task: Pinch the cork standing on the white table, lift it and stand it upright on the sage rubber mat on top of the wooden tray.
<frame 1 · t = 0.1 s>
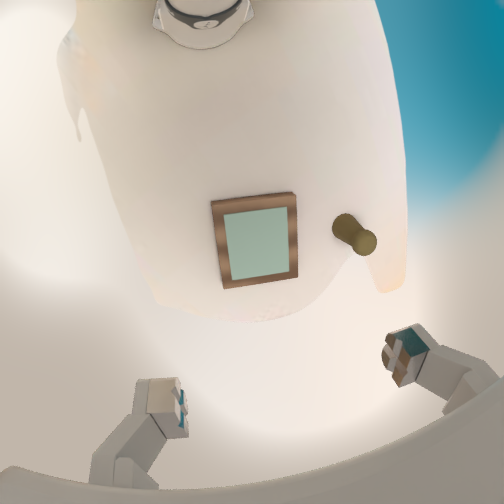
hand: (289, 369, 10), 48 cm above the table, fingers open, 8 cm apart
wooden tray: (255, 238, 60), on the table
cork: (343, 226, 63), on the table
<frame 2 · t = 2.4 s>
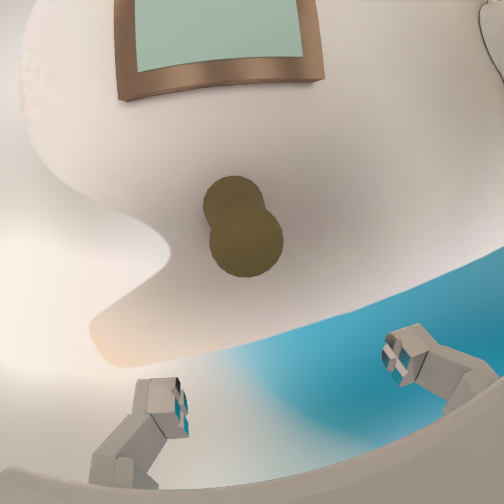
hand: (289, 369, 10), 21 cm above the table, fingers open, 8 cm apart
wooden tray: (214, 13, 20), on the table
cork: (233, 204, 29), on the table
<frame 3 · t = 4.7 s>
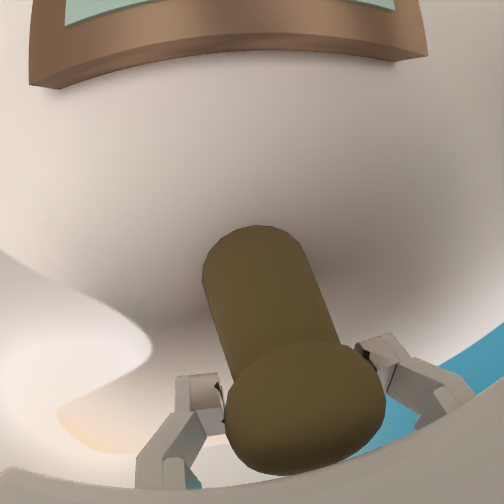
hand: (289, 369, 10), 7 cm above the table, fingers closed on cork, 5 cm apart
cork: (255, 274, 17), on the table, touching gripper
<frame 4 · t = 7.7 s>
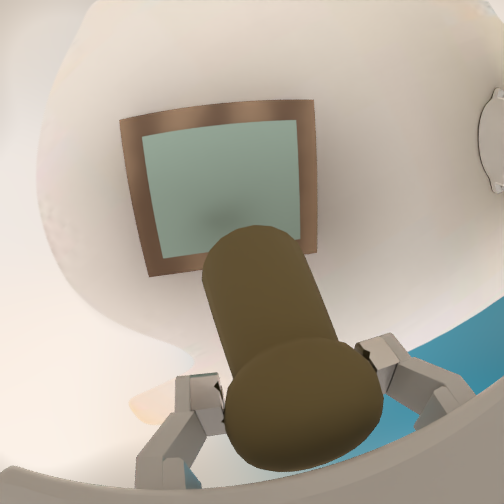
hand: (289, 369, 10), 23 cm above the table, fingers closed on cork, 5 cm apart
wooden tray: (223, 182, 29), on the table
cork: (254, 273, 17), point 15 cm above the table, touching gripper
when the fingers open (11 cm above the table, at t = 11.1 s): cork stays where it is, resting on wooden tray.
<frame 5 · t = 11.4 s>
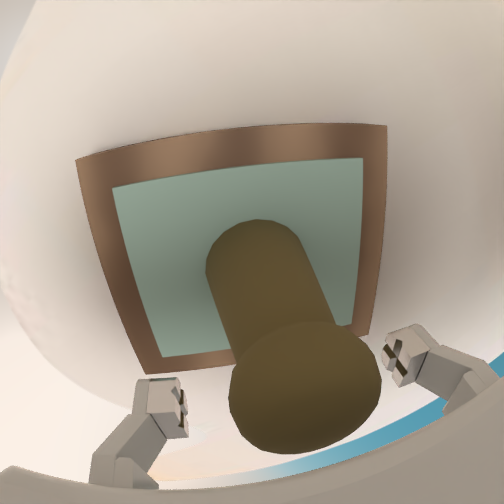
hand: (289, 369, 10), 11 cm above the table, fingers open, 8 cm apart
wooden tray: (244, 246, 20), on the table
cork: (256, 266, 17), point 3 cm above the table, touching wooden tray
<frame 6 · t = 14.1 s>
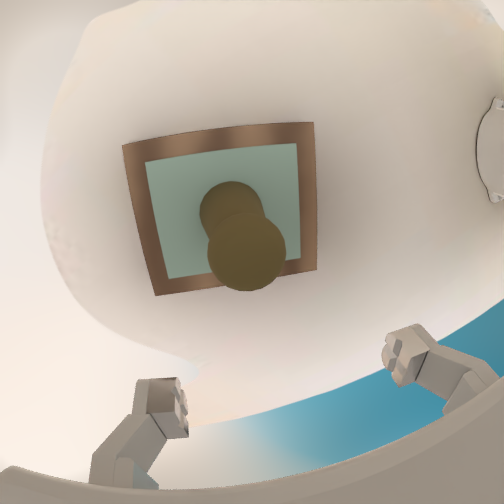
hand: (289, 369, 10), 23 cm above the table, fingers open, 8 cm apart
wooden tray: (225, 203, 30), on the table
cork: (230, 211, 28), point 3 cm above the table, touching wooden tray
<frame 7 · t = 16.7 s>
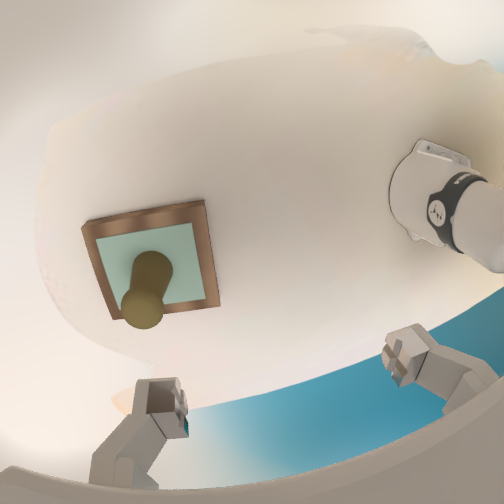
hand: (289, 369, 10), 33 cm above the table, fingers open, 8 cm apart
wooden tray: (154, 260, 43), on the table
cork: (152, 269, 40), point 3 cm above the table, touching wooden tray
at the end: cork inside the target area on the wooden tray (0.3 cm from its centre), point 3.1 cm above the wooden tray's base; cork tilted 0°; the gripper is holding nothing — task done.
